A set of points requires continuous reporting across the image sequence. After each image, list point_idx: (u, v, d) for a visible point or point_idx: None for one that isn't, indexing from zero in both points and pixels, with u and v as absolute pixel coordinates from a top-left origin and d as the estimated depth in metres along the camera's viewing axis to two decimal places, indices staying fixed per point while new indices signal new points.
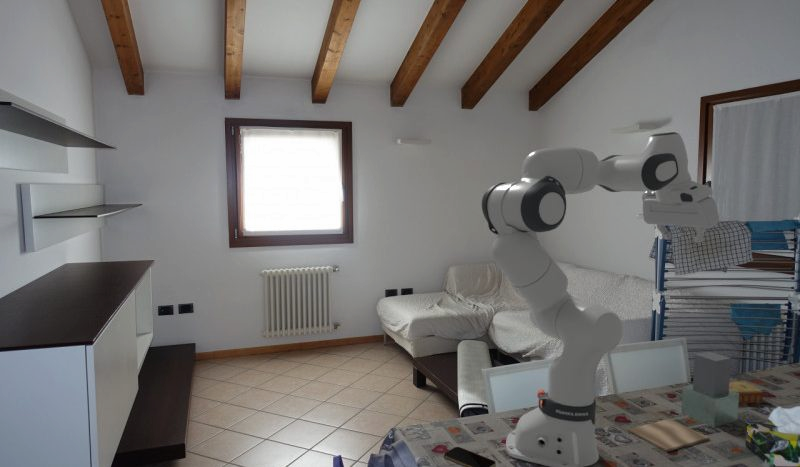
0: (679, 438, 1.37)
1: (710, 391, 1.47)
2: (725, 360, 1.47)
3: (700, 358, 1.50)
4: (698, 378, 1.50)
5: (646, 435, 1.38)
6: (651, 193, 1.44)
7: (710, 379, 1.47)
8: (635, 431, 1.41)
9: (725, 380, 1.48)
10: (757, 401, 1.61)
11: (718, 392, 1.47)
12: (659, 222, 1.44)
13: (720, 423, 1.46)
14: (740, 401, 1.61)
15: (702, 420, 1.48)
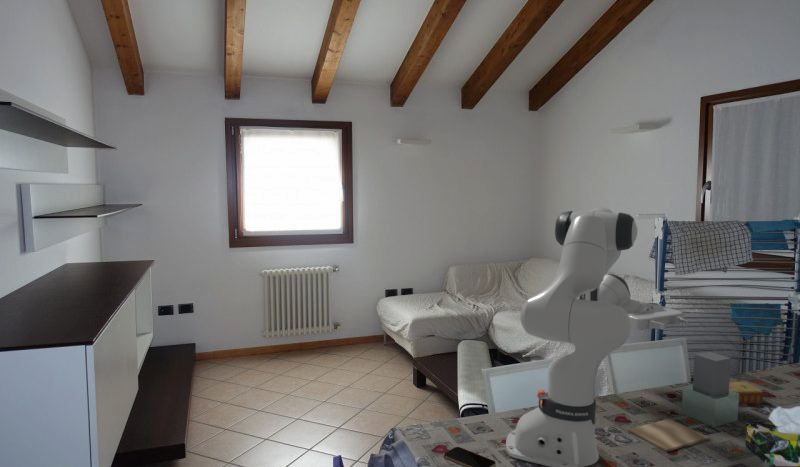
0: (679, 438, 1.37)
1: (710, 391, 1.47)
2: (725, 360, 1.47)
3: (700, 358, 1.50)
4: (698, 378, 1.50)
5: (646, 435, 1.38)
6: None
7: (710, 379, 1.47)
8: (635, 431, 1.41)
9: (725, 380, 1.48)
10: (757, 401, 1.61)
11: (718, 392, 1.47)
12: (650, 317, 1.63)
13: (720, 423, 1.46)
14: (740, 401, 1.61)
15: (702, 420, 1.48)
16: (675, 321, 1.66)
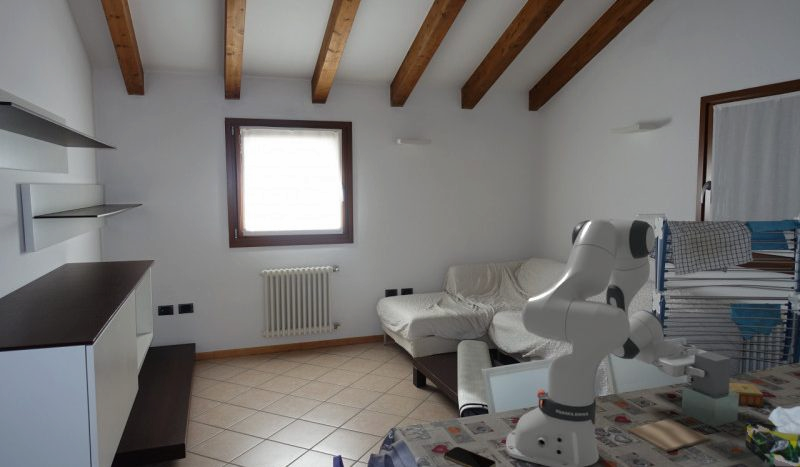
0: (679, 438, 1.37)
1: (710, 391, 1.47)
2: (725, 360, 1.47)
3: (700, 358, 1.50)
4: (698, 378, 1.50)
5: (646, 435, 1.38)
6: (657, 359, 1.59)
7: (710, 379, 1.47)
8: (635, 431, 1.41)
9: (725, 380, 1.48)
10: (756, 403, 1.59)
11: (718, 392, 1.47)
12: (686, 362, 1.52)
13: (720, 423, 1.46)
14: None
15: (702, 420, 1.48)
16: None
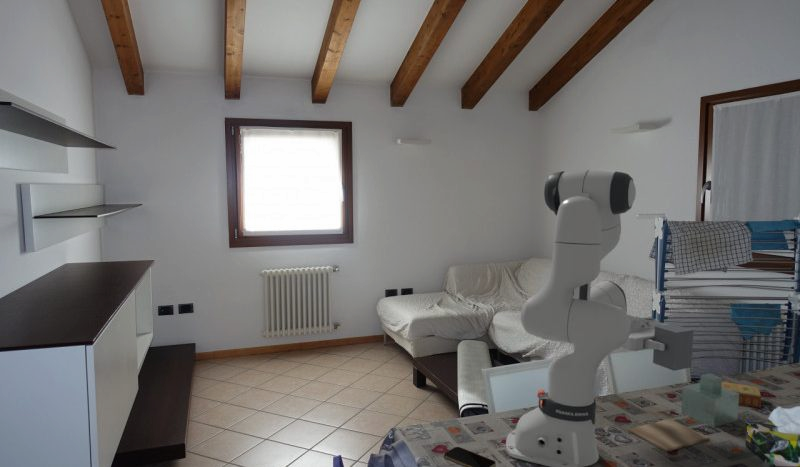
0: (679, 438, 1.37)
1: (670, 366, 1.35)
2: (687, 332, 1.35)
3: (660, 330, 1.37)
4: (658, 352, 1.38)
5: (646, 435, 1.38)
6: None
7: (670, 353, 1.34)
8: (635, 431, 1.41)
9: (687, 354, 1.35)
10: (753, 404, 1.58)
11: (679, 367, 1.34)
12: (645, 335, 1.40)
13: (720, 423, 1.46)
14: None
15: (702, 420, 1.48)
16: None
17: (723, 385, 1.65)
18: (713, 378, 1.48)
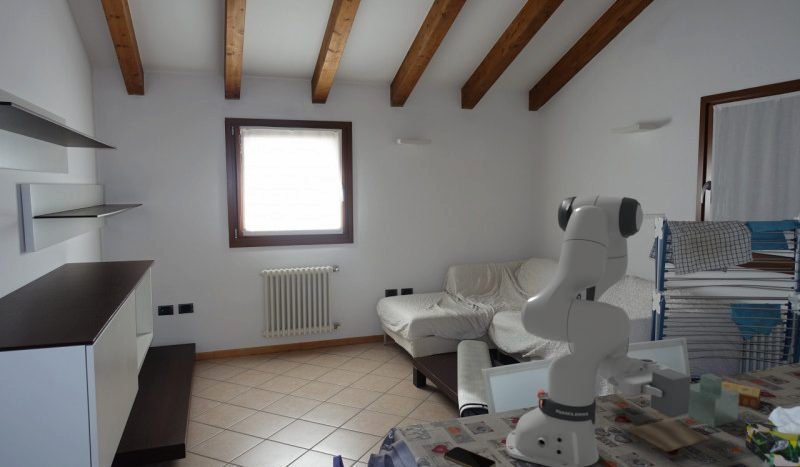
0: (679, 438, 1.37)
1: (668, 412, 1.36)
2: (684, 379, 1.36)
3: (657, 376, 1.39)
4: (656, 397, 1.39)
5: (646, 435, 1.38)
6: (614, 376, 1.47)
7: (668, 399, 1.36)
8: (635, 431, 1.41)
9: (684, 400, 1.37)
10: (751, 405, 1.58)
11: (676, 413, 1.36)
12: (643, 380, 1.41)
13: (720, 423, 1.46)
14: None
15: (702, 420, 1.48)
16: None
17: (723, 385, 1.65)
18: (713, 378, 1.48)
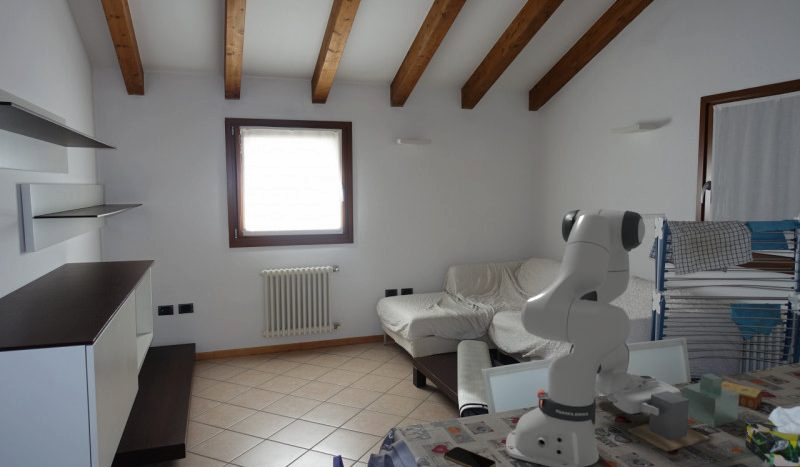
0: (679, 438, 1.37)
1: (666, 435, 1.36)
2: (682, 402, 1.36)
3: (656, 399, 1.39)
4: (654, 420, 1.40)
5: (646, 435, 1.38)
6: (613, 393, 1.48)
7: (666, 423, 1.36)
8: (635, 431, 1.41)
9: (683, 423, 1.37)
10: (749, 405, 1.58)
11: (675, 436, 1.36)
12: (642, 398, 1.41)
13: (720, 423, 1.46)
14: None
15: (702, 420, 1.48)
16: None
17: (723, 384, 1.66)
18: (713, 378, 1.48)
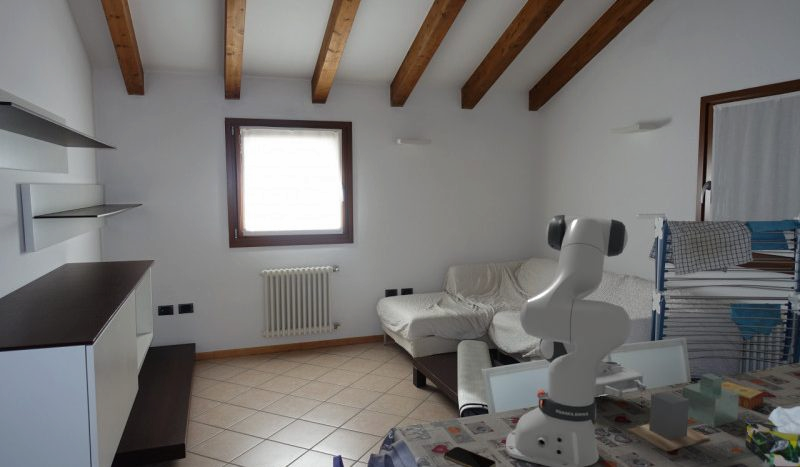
0: (679, 438, 1.37)
1: (666, 435, 1.36)
2: (682, 402, 1.36)
3: (656, 399, 1.39)
4: (654, 420, 1.40)
5: (646, 435, 1.38)
6: None
7: (666, 423, 1.36)
8: (635, 431, 1.41)
9: (683, 423, 1.37)
10: (744, 405, 1.58)
11: (675, 436, 1.36)
12: (605, 381, 1.53)
13: (720, 423, 1.46)
14: None
15: (702, 420, 1.48)
16: (633, 385, 1.56)
17: (723, 384, 1.66)
18: (713, 378, 1.48)
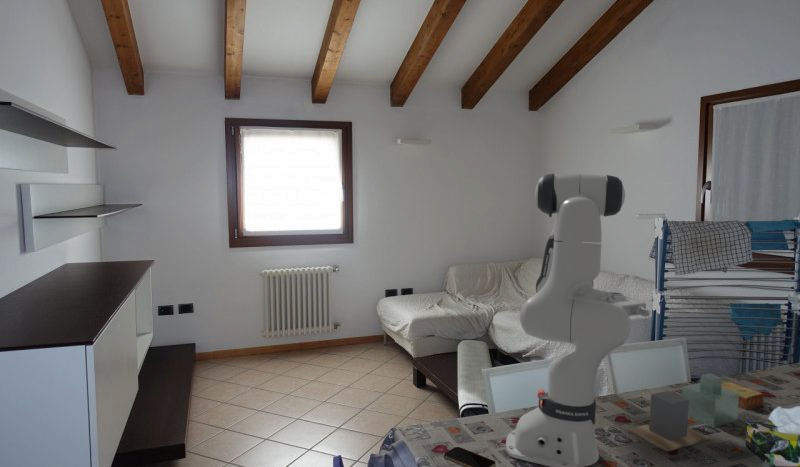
0: (679, 438, 1.37)
1: (666, 435, 1.36)
2: (682, 402, 1.36)
3: (656, 399, 1.39)
4: (654, 420, 1.40)
5: (646, 435, 1.38)
6: None
7: (666, 423, 1.36)
8: (635, 431, 1.41)
9: (683, 423, 1.37)
10: (740, 405, 1.58)
11: (675, 436, 1.36)
12: None
13: (720, 423, 1.46)
14: None
15: (702, 420, 1.48)
16: (636, 311, 1.54)
17: (724, 384, 1.66)
18: (713, 378, 1.48)
